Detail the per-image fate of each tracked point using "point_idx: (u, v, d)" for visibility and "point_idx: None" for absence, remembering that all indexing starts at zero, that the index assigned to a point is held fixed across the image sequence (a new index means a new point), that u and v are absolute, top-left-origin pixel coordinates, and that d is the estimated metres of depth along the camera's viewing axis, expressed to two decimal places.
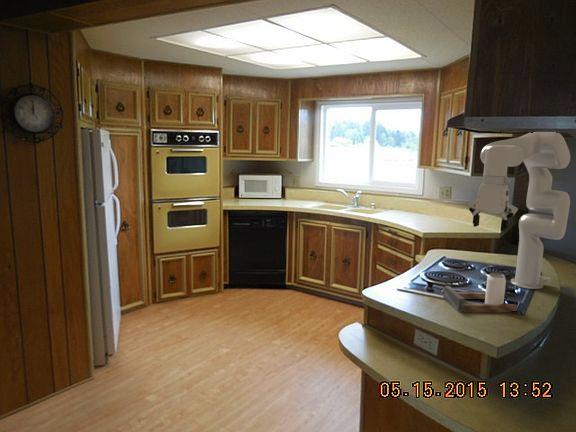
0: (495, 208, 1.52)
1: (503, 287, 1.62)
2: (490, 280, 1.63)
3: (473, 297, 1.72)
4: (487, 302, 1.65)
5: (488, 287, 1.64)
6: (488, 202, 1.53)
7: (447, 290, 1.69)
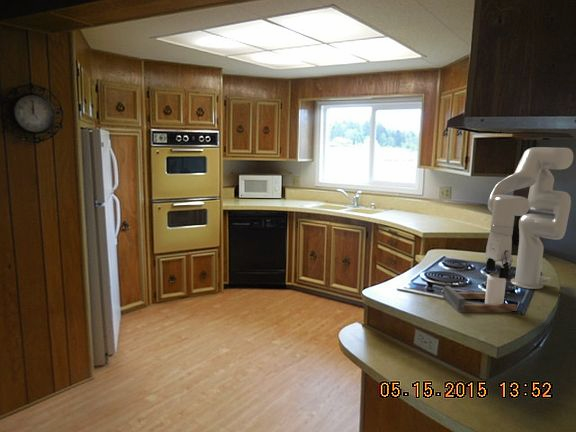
0: None
1: (503, 287, 1.62)
2: (490, 280, 1.63)
3: (473, 297, 1.72)
4: (487, 302, 1.65)
5: (488, 287, 1.64)
6: None
7: (447, 290, 1.69)
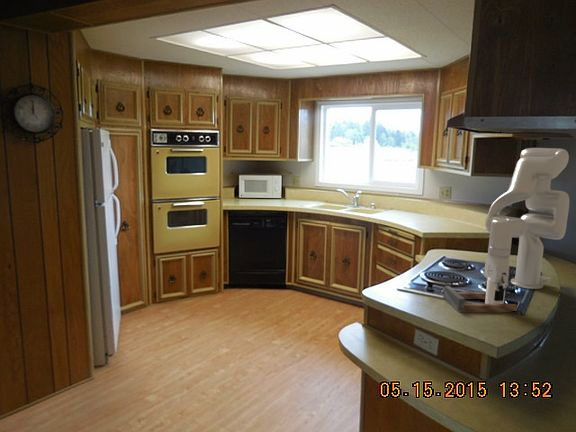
0: None
1: None
2: None
3: (473, 297, 1.72)
4: (487, 302, 1.65)
5: (488, 287, 1.64)
6: None
7: (447, 290, 1.69)
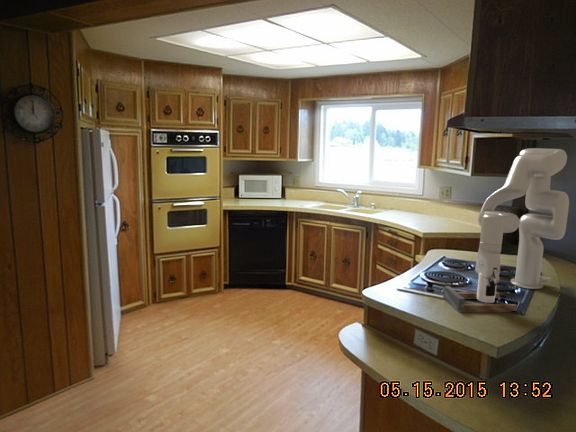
0: None
1: None
2: None
3: (473, 297, 1.72)
4: (479, 298, 1.64)
5: (480, 282, 1.64)
6: None
7: (447, 290, 1.69)
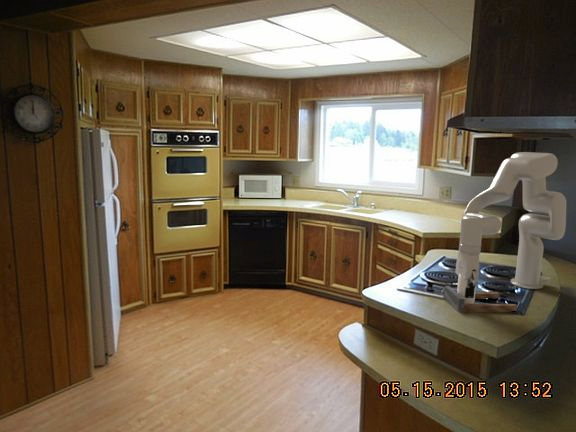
0: None
1: None
2: (461, 277, 1.62)
3: None
4: None
5: (459, 284, 1.63)
6: None
7: (447, 290, 1.69)
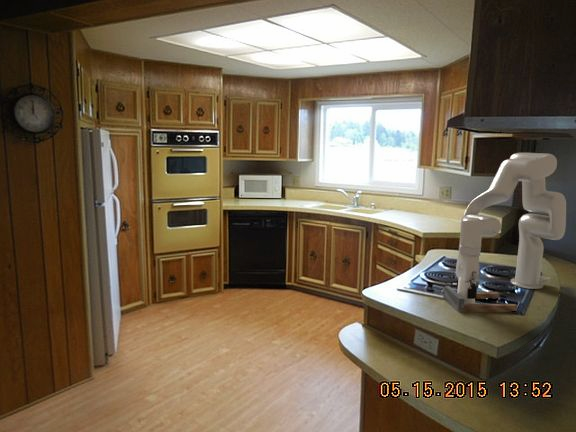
0: None
1: None
2: (461, 280, 1.62)
3: None
4: None
5: (459, 287, 1.64)
6: None
7: (447, 290, 1.69)
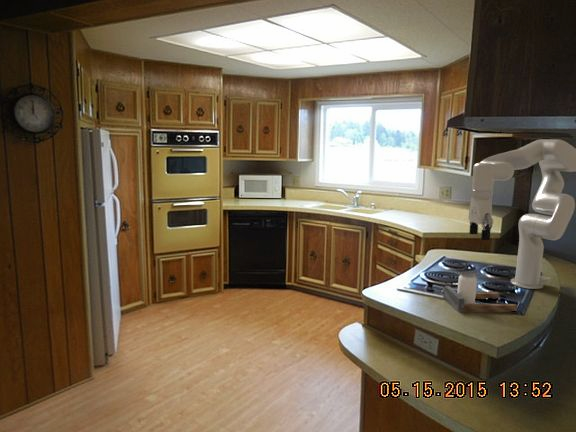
0: None
1: (474, 287, 1.62)
2: (461, 280, 1.63)
3: None
4: None
5: (459, 287, 1.64)
6: None
7: (447, 290, 1.69)
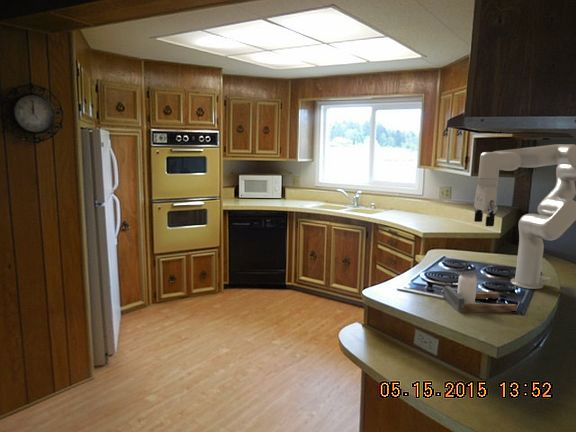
0: None
1: (474, 287, 1.62)
2: (462, 280, 1.62)
3: None
4: None
5: (459, 287, 1.64)
6: None
7: (447, 290, 1.69)
